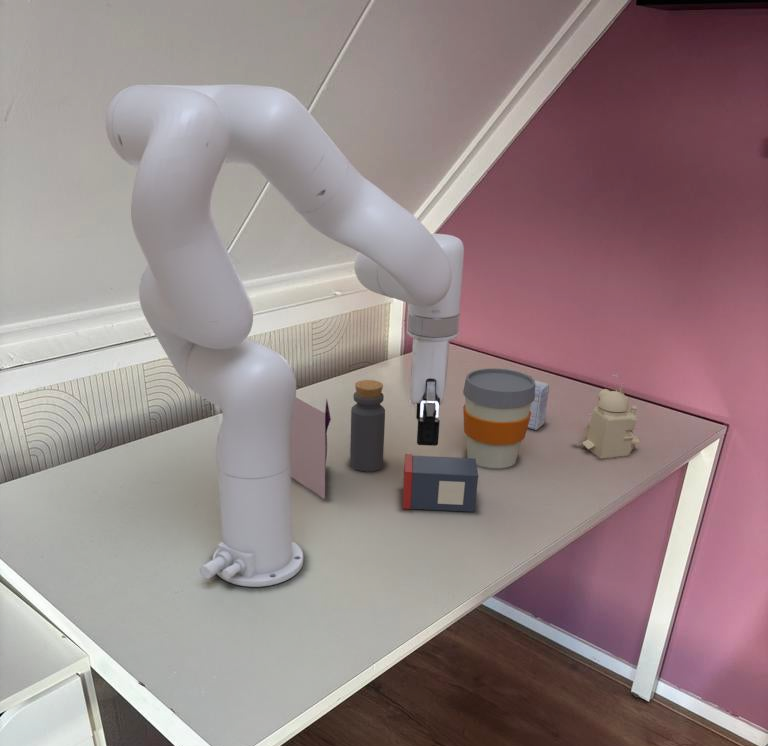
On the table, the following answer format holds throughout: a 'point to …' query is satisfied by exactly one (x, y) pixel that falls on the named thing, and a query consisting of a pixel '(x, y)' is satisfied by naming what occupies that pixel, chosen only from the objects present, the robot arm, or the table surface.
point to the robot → (611, 426)
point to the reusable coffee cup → (496, 415)
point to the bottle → (367, 427)
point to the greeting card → (309, 446)
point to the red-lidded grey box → (440, 483)
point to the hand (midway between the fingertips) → (426, 431)
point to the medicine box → (539, 405)
